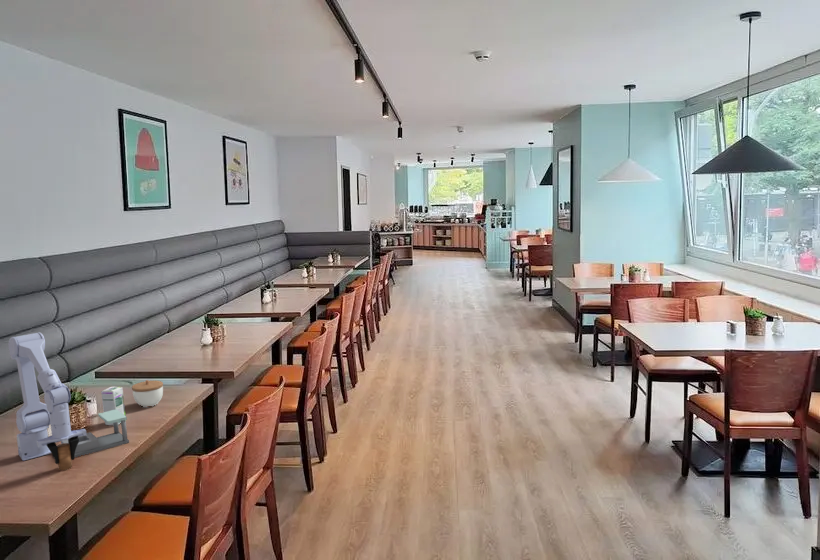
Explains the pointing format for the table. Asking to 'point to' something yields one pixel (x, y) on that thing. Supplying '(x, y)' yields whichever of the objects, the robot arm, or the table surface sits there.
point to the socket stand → (107, 441)
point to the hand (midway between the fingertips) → (64, 461)
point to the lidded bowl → (148, 392)
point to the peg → (64, 456)
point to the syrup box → (113, 400)
